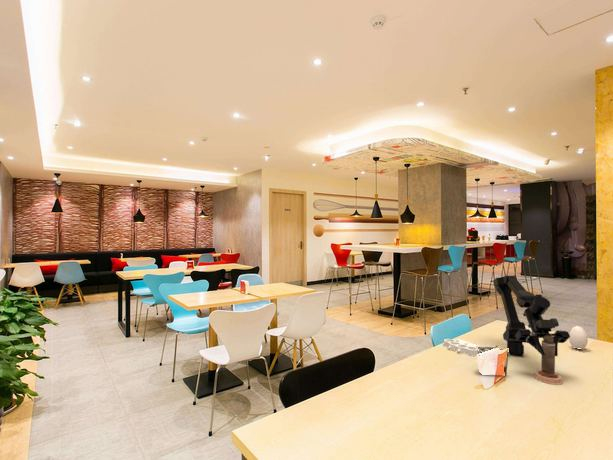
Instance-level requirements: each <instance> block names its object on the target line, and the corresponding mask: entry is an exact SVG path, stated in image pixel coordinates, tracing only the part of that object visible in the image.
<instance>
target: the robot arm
mask: <svg viewBox="0 0 613 460" xmlns="http://www.w3.org/2000/svg"><path fill="white" fill-rule="evenodd" d="M492 283H493V286H494V288H495V290H496V292H497V293H498V294H499V295H500V296H501V301H502V305H503V307H504V308H503V309H504V312H505V316H506V320H507V324H506V325H505V330H504V332H503V334H502V338H503V340H504V341H505V342H506V349H507V348H509V354H510V356H517V357H524V354H525V346H524V344H523V343H526V344H529V345H530V346H531V347H533V348H534V349H535V350H536V351H537V352H538V353H539V354H540V355H541V357H542V356H544V355H545V354H544V351H543V349H542V343H541V342H540V339H543V337H544V336H545V335H550V336H552V337H553V339H554V341H553V342H554V343H555V357H558V356H559V355H558V354H559V353H558V347H559V346H558V344H559V343H560V344H564V343H566V342H568V341H567V340H569V338H570V335H569V333H570V332H569V331H566V330H558V329H557V330H556V331H555V332H553V333H550V332H552V329H555V328H557V327H559V326H560V324H559V320H558V319H557V318H555V317H554V318H549V319H544V318H543V315H544V314H545V313H546V311H548V309H549V308H550V307H551V302H550V300H549V299H547V298H546V297H544V296H542V294H534V293H533V292H530V291H528V290H526V288H525V287H524V286H523V285H522V284H521V283H520V282H519V280H518V279H517V276H515V275H504V276H501V277H496V278H494V279H493V282H492ZM512 292H513V294H514V295H515V297H516V300H515V301H516V304H517V305H518V306H519V308H523V309H524V308H525V310H524V311H523V314H522V315H523V317H525V319H526V320H527V323H528V325H527V328H528V329H527V328H526V324H525V322H523V321H522V322H521V321H520V320H519V317H518V313H517V309H516V305H515V301H514V298H513V294H512Z"/></svg>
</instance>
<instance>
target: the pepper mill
mask: <svg viewBox="0 0 613 460" xmlns="http://www.w3.org/2000/svg"><path fill="white" fill-rule="evenodd" d="M553 341H554V339H553V337H552V336H550V335H545V336H544V337H543V338H542V340H541V346H542V349H543V351H544V354H545V355H544V356H542V355H541V367H540V368H541V369H540V370H541V371H542V372H544V373H547V374H555V373H556V372H555V371H556V369H555V368H556V356H555V343H554V342H553Z"/></svg>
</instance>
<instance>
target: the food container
mask: <svg viewBox="0 0 613 460" xmlns="http://www.w3.org/2000/svg"><path fill="white" fill-rule="evenodd" d="M493 348H495V347H492V346H481V348H480V349H479V351H478V354H479V353H482V352H485V351H488V350H491V349H493ZM499 349H500V350H504V348H503V349H502V348H499ZM509 358H511V355H510V354H509V352H507V358H506V364H505V366H504V372H505V376H504V377H507V374H508V373H507V372H508V363H509Z"/></svg>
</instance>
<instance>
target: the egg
mask: <svg viewBox="0 0 613 460" xmlns="http://www.w3.org/2000/svg"><path fill="white" fill-rule="evenodd" d="M568 333H569V335H570V338H569V339H568V340H569V341H568V342H569V344H570V346H572V347H573V348H574V347H575V348H581V350H584V349H585V348H586V346H588V342H589V339H588V335H587V332H586V331H585V329H584V328H583V327H581V326H580V325H579V326H578V325H575V326H573V327H572V328H571V330H570V332H568ZM575 348H574V349H575Z"/></svg>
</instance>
